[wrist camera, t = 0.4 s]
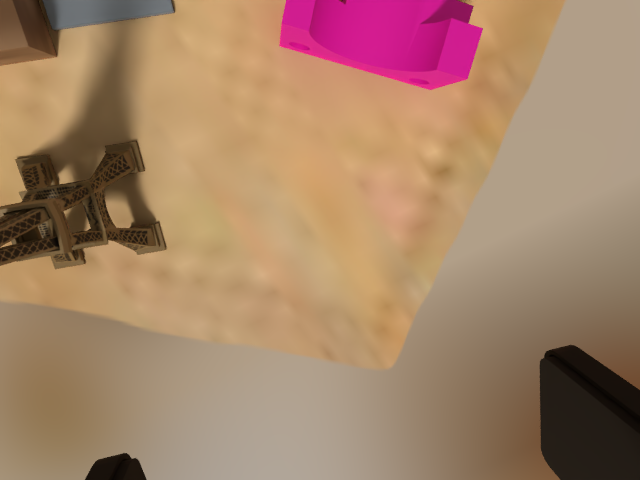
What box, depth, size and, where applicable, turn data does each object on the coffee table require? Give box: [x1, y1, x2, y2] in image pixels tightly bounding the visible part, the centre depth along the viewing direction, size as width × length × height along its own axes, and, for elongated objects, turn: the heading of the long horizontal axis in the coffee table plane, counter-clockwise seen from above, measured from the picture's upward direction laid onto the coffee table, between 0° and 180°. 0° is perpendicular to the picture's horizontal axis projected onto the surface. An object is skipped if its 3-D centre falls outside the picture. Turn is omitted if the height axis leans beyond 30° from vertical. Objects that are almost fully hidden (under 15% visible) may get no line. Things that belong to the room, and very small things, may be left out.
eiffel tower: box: [0, 141, 166, 269], centre depth 24 cm, size 11×11×25 cm
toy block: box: [279, 0, 483, 90], centre depth 32 cm, size 15×6×8 cm, turn 76°
